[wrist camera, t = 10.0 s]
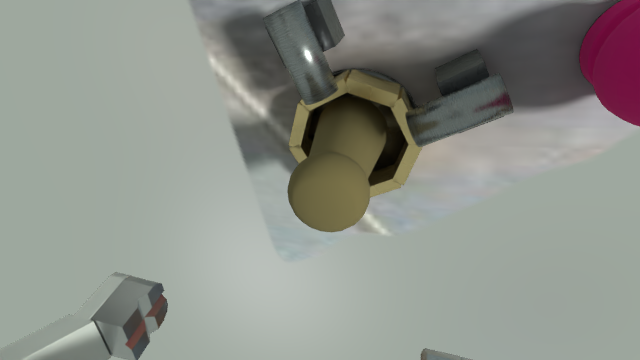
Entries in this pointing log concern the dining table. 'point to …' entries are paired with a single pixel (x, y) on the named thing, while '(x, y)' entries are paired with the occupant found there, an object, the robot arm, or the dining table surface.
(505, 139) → the dining table surface
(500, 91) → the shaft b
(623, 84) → the pepper mill
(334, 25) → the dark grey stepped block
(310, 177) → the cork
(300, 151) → the coupling collar
